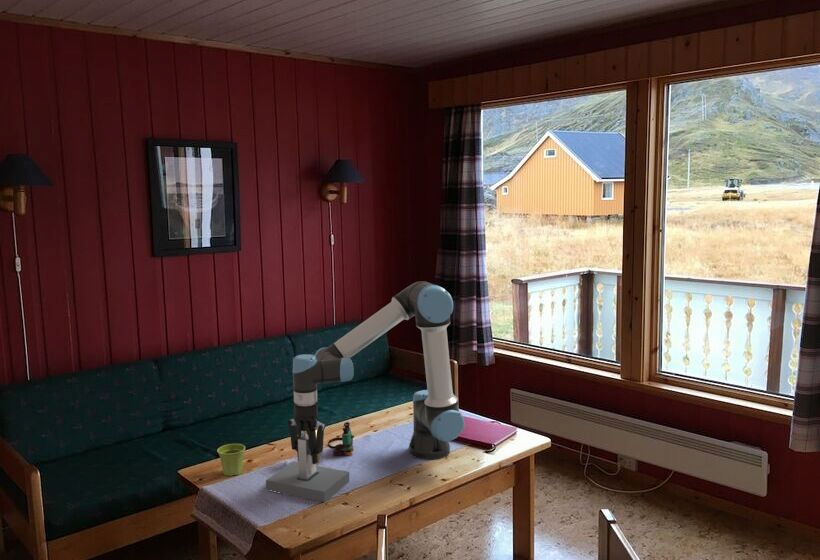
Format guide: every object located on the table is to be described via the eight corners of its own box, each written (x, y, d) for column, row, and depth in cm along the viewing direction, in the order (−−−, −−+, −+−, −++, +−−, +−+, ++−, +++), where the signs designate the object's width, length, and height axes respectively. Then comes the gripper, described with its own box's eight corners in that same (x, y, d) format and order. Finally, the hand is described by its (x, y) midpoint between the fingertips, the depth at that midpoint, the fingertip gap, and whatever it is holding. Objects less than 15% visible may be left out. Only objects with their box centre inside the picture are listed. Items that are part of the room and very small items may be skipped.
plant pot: (212, 476, 233) (211, 452, 232) (229, 465, 242) (227, 442, 240) (236, 480, 230) (234, 455, 228) (251, 469, 238) (250, 445, 237)
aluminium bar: (317, 477, 226) (315, 434, 224) (307, 484, 221) (305, 440, 219) (309, 475, 228) (307, 432, 225) (299, 483, 222) (297, 439, 220)
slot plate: (349, 481, 227) (349, 471, 227) (324, 502, 213) (324, 491, 212) (293, 471, 236) (293, 461, 236) (266, 490, 222) (265, 480, 221)
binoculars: (327, 423, 256) (353, 420, 255) (330, 449, 257) (357, 447, 257) (323, 431, 247) (351, 428, 246) (327, 459, 248) (354, 456, 248)
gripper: (278, 403, 220) (280, 472, 224) (321, 409, 214) (323, 480, 217) (291, 396, 227) (293, 463, 230) (333, 402, 221) (335, 471, 224)
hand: (308, 471), depth 224 cm, fingers closed on aluminium bar, 3 cm apart
